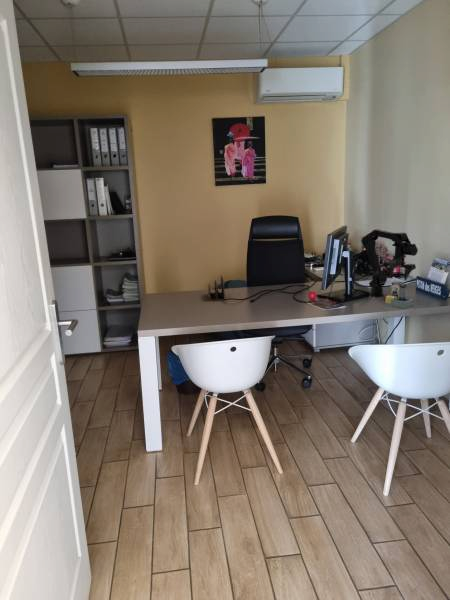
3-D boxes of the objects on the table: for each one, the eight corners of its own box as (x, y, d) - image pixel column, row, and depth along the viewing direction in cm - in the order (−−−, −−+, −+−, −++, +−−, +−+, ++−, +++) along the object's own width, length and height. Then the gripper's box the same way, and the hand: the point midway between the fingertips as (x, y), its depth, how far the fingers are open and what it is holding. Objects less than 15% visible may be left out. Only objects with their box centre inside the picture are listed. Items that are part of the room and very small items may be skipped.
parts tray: (390, 305, 273) (391, 299, 272) (399, 303, 278) (399, 296, 277) (404, 308, 266) (405, 302, 265) (413, 305, 271) (413, 299, 270)
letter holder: (222, 294, 317) (222, 273, 313) (225, 301, 298) (224, 279, 294) (208, 294, 316) (207, 274, 313) (209, 301, 297) (208, 280, 294)
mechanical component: (408, 298, 288) (409, 282, 285) (391, 298, 290) (392, 282, 287) (407, 297, 290) (408, 281, 288) (390, 297, 292) (391, 281, 290)
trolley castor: (389, 301, 283) (389, 286, 280) (394, 299, 286) (395, 284, 284) (396, 302, 279) (397, 287, 276) (402, 301, 282) (403, 285, 280)
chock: (385, 302, 280) (385, 296, 279) (389, 301, 282) (389, 295, 281) (392, 304, 276) (393, 297, 275) (396, 303, 278) (396, 296, 277)
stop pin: (396, 303, 273) (397, 284, 271) (403, 303, 274) (404, 283, 271) (400, 305, 269) (400, 285, 267) (407, 305, 270) (407, 284, 267)
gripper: (378, 254, 280) (377, 279, 284) (406, 257, 266) (404, 283, 270) (388, 251, 287) (387, 276, 291) (417, 254, 273) (415, 280, 276)
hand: (398, 279), depth 282 cm, fingers open, 9 cm apart
